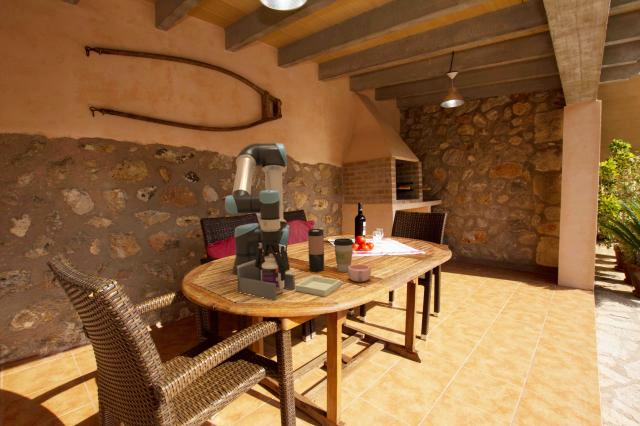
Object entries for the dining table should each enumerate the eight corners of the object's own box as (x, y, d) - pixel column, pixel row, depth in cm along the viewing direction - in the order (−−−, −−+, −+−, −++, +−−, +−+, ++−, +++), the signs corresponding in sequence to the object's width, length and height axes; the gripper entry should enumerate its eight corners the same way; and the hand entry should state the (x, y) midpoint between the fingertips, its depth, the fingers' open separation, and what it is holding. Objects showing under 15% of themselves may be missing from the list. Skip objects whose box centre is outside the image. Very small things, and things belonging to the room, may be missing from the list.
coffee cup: (332, 267, 153) (332, 238, 152) (351, 266, 154) (351, 237, 152) (335, 273, 143) (334, 242, 142) (355, 272, 144) (355, 241, 143)
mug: (373, 283, 128) (372, 269, 128) (349, 284, 128) (349, 270, 127) (367, 274, 140) (367, 262, 140) (345, 275, 140) (345, 263, 139)
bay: (238, 292, 120) (236, 266, 119) (260, 282, 132) (259, 258, 131) (274, 300, 111) (273, 271, 110) (294, 289, 123) (294, 263, 122)
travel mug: (326, 268, 152) (325, 229, 150) (321, 272, 145) (320, 231, 143) (312, 267, 154) (311, 228, 152) (306, 271, 147) (305, 231, 145)
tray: (295, 291, 120) (295, 285, 120) (312, 281, 132) (312, 275, 132) (325, 296, 114) (325, 290, 114) (340, 285, 126) (340, 280, 125)
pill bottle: (279, 296, 115) (277, 259, 114) (259, 295, 117) (258, 258, 116) (285, 289, 123) (284, 254, 122) (267, 288, 125) (265, 253, 124)
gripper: (243, 229, 120) (246, 285, 122) (286, 233, 109) (288, 293, 112) (256, 227, 126) (258, 280, 128) (298, 230, 116) (299, 287, 118)
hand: (272, 286), depth 120 cm, fingers closed on pill bottle, 8 cm apart
